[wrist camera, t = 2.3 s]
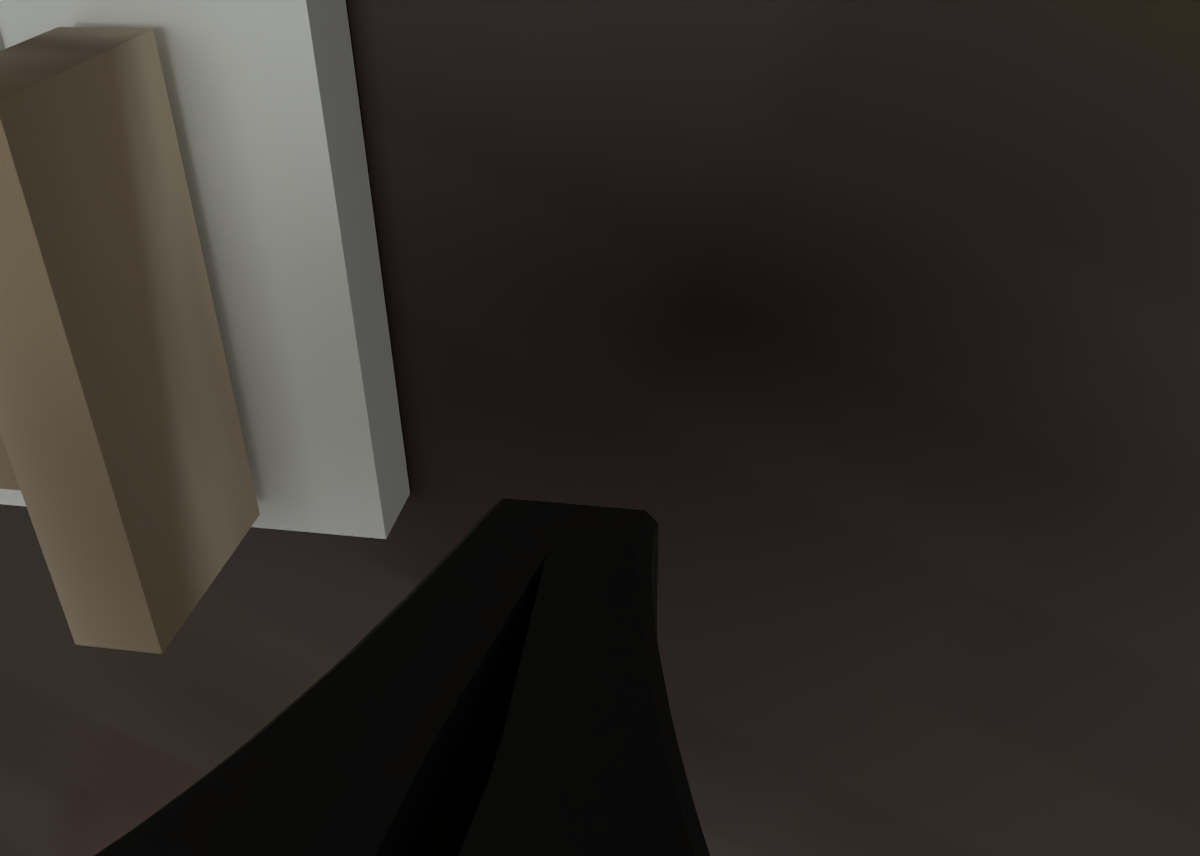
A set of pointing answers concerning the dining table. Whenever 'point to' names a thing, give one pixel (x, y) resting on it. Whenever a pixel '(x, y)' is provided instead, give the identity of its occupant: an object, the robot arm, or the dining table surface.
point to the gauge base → (278, 242)
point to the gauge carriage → (111, 342)
